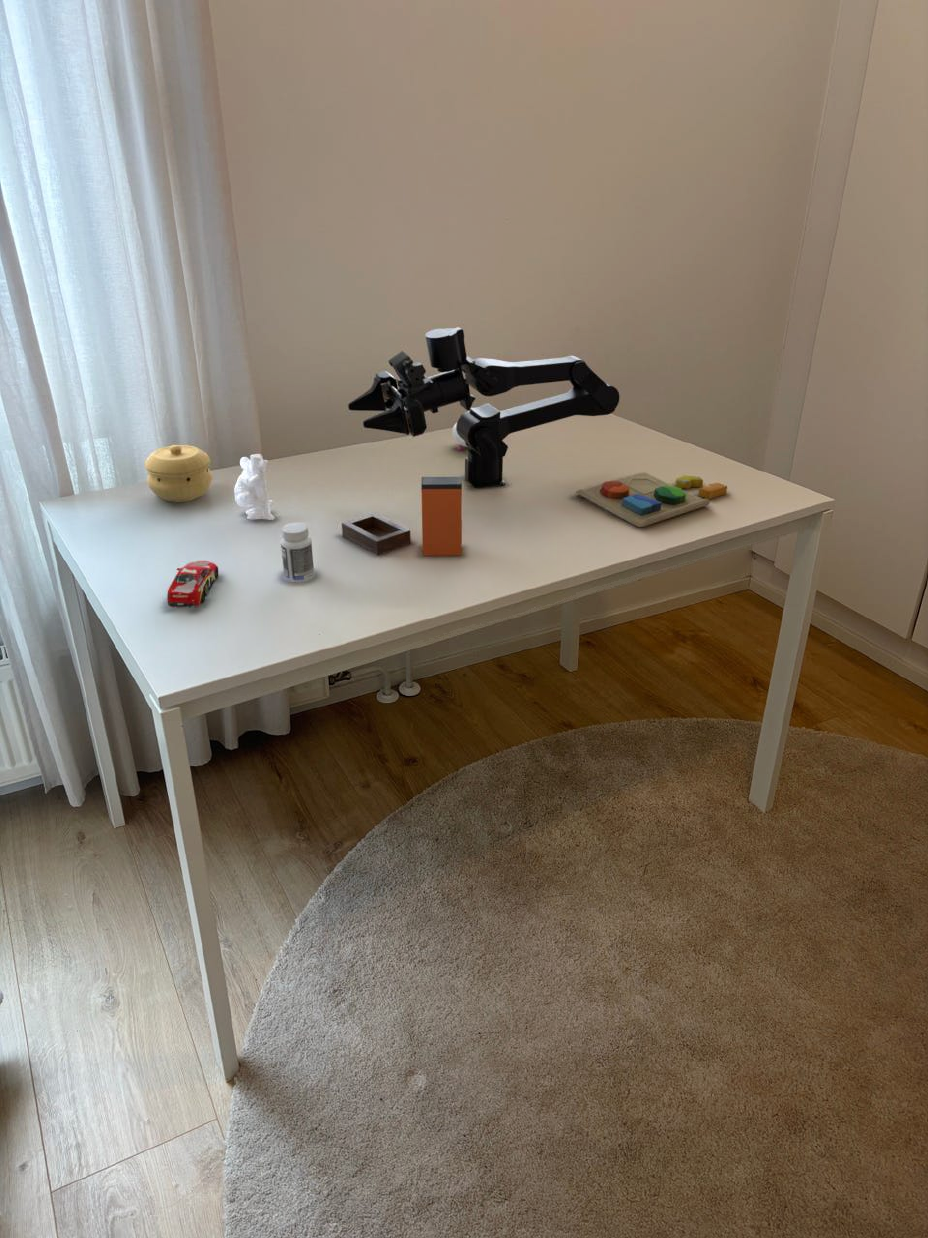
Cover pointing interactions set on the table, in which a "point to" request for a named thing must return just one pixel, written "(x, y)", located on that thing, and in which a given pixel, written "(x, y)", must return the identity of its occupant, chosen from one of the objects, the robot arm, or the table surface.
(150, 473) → the pot
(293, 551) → the pill bottle
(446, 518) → the box
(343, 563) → the table surface
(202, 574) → the race car
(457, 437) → the stress ball
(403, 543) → the slot
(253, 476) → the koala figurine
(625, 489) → the shape puzzle
